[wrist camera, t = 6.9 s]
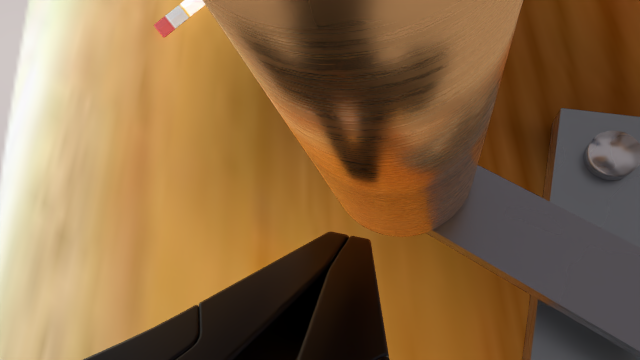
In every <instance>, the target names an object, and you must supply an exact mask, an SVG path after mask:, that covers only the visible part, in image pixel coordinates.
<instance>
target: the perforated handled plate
mask: <svg viewBox="0 0 640 360" xmlns="http://www.w3.org/2000/svg"><path fill="white" fill-rule="evenodd" d="M203 2H204V3H205V4H206V6H207V7H208V9H209V10H210V12H211V13H212V15H213V16H214V18H215V19H216V21H217V22H218V24H219V25H220V27H221V28H222V30H223V31H224V32H225V34H226V35H227V37H228V38H229V40H230V41H231V43H232V44H233V46H234V47H235V49H236V50H237V52H238V53H239V55H240V56H241V57H242V59H243V60H244V62H245V63H246V65H247V66H248V68H249V69H250V71H251V72H252V74H253V75H254V77H255V78H256V80H257V81H258V83H259V84H260V85H261V87H262V88H263V90H264V91H265V93H266V94H267V96H268V97H269V99H270V100H271V102H272V103H273V105H274V106H275V108H276V109H277V110H278V112H279V113H280V115H281V116H282V118H283V119H284V121H285V122H286V124H287V125H288V127H289V128H290V130H291V131H292V133H293V134H294V136H295V137H296V138H297V140H298V141H299V143H300V144H301V146H302V147H303V149H304V150H305V152H306V153H307V155H308V156H309V158H310V159H311V161H312V162H313V164H314V165H315V166H316V168H317V169H318V171H319V172H320V174H321V175H322V177H323V178H324V180H325V181H326V183H327V184H328V186H329V187H330V189H331V190H332V191H333V193H334V194H335V196H336V197H337V199H338V200H339V202H340V203H341V205H342V206H343V208H344V209H345V210H346V211H347V213H348V214H349V215H350V216H351V217H352V218H353V219H354V220H355V221H357V222H358V223H360V224H361V225H362V226H364V227H366V228H368V229H370V230H372V231H375V232H377V233H380V234H384V235H389V236H398V237H403V236H414V235H419V234H423V233H427V234H428V235H430V236H432V237H434V238H435V239H437V240H439V241H440V242H442V243H444V244H445V245H447V246H449V247H451V248H452V249H454V250H456V251H457V252H459V253H461V254H462V255H464V256H466V257H468V258H469V259H471V260H473V261H474V262H476V263H478V264H479V265H481V266H483V267H484V268H486V269H488V270H490V271H491V272H493V273H495V274H496V275H498V276H500V277H501V278H503V279H505V280H507V281H508V282H510V283H512V284H513V285H515V286H517V287H518V288H520V289H522V290H524V291H525V292H527V293H529V294H530V295H532V296H534V297H535V298H537V299H539V300H540V301H542V302H544V303H546V304H547V305H549V306H551V307H552V308H554V309H556V310H557V311H559V312H561V313H563V314H564V315H566V316H568V317H569V318H571V319H573V320H574V321H576V322H578V323H580V324H581V325H583V326H585V327H586V328H588V329H590V330H591V331H593V332H595V333H596V334H598V335H600V336H602V337H603V338H605V339H607V340H608V341H610V342H612V343H613V344H615V345H617V346H619V347H620V348H622V349H624V350H625V351H627V352H629V353H630V354H632V355H634V356H636V357H637V358H639V359H640V247H638V246H636V245H634V244H632V243H630V242H628V241H626V240H624V239H622V238H620V237H618V236H616V235H614V234H612V233H610V232H608V231H606V230H604V229H602V228H600V227H598V226H597V225H595V224H593V223H591V222H589V221H587V220H585V219H583V218H581V217H579V216H577V215H575V214H573V213H571V212H569V211H567V210H565V209H563V208H561V207H559V206H557V205H555V204H553V203H551V202H549V201H547V200H545V199H543V198H542V197H540V196H538V195H536V194H534V193H532V192H530V191H528V190H526V189H524V188H522V187H520V186H518V185H516V184H514V183H512V182H510V181H508V180H506V179H504V178H502V177H500V176H498V175H496V174H494V173H492V172H490V171H488V170H487V169H485V168H483V167H481V166H479V165H478V162H479V158H480V155H481V151H482V147H483V144H484V140H485V137H486V133H487V129H488V126H489V122H490V118H491V115H492V111H493V108H494V104H495V100H496V97H497V93H498V90H499V86H500V82H501V79H502V75H503V72H504V68H505V64H506V61H507V57H508V53H509V50H510V46H511V43H512V39H513V35H514V32H515V28H516V25H517V21H518V17H519V14H520V10H521V6H522V3H523V0H203Z"/></svg>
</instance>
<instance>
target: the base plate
mask: <svg viewBox="0 0 640 360" xmlns="http://www.w3.org/2000/svg"><path fill="white" fill-rule="evenodd" d="M543 199H545V200H547V201H549V202H551V203H553V204H555V205H557V206H559V207H561V208H563V209H565V210H567V211H569V212H571V213H573V214H575V215H577V216H579V217H581V218H583V219H585V220H587V221H589V222H591V223H593V224H595V225H597V226H598V227H600V228H602V229H604V230H606V231H608V232H610V233H612V234H614V235H616V236H618V237H620V238H622V239H624V240H626V241H628V242H630V243H632V244H634V245H636V246H638V247H640V117H636V116H627V115H618V114H609V113H601V112H592V111H583V110H574V109H565V108H561V109H560V111H559V113H558V114H557V116H556V118H555V119H554V121H553V123H552V128H551V136H550V144H549V152H548V160H547V168H546V176H545V184H544V192H543ZM523 360H640V359H639V358H637V357H636V356H634V355H632V354H630V353H629V352H627V351H625V350H624V349H622V348H620V347H619V346H617V345H615V344H613V343H612V342H610V341H608V340H607V339H605V338H603V337H602V336H600V335H598V334H596V333H595V332H593V331H591V330H590V329H588V328H586V327H585V326H583V325H581V324H580V323H578V322H576V321H574V320H573V319H571V318H569V317H568V316H566V315H564V314H563V313H561V312H559V311H557V310H556V309H554V308H552V307H551V306H549V305H547V304H546V303H544V302H542V301H540V300H539V299H537V298H535V297H534V296H532V295H531V296H530V304H529V312H528V320H527V328H526V336H525V344H524V352H523Z"/></svg>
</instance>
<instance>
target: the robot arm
mask: <svg viewBox="0 0 640 360" xmlns="http://www.w3.org/2000/svg"><path fill="white" fill-rule="evenodd" d="M388 357H389V354H388V348H387V342H386V336H385V329H384V323H383V317H382V310H381V304H380V298H379V291H378V285H377V279H376V272H375V266H374V260H373V253H372V247H371V242H370V240H369V239H365V238H360V237H355V236H351V237H349V236H348V235H345V234H340V233H335V232H328V233H326V234H324V235H322V236H320V237H318V238H317V239H315V240H313V241H311V242H309V243H307V244H306V245H304V246H302V247H300V248H298V249H297V250H295V251H293V252H291V253H289V254H287V255H286V256H284V257H282V258H280V259H278V260H277V261H275V262H273V263H271V264H269V265H268V266H266V267H264V268H262V269H260V270H258V271H257V272H255V273H253V274H251V275H249V276H248V277H246V278H244V279H242V280H240V281H238V282H237V283H235V284H233V285H231V286H229V287H228V288H226V289H224V290H222V291H220V292H219V293H217V294H215V295H213V296H211V297H209V298H208V299H206V300H204V301H202V302H200V303H199V307H198V305H195V306H193V307H191V308H189V309H187V310H186V311H184V312H182V313H180V314H178V315H176V316H174V317H173V318H171V319H169V320H167V321H165V322H163V323H161V324H159V325H157V326H155V327H153V328H151V329H149V330H147V331H145V332H143V333H141V334H139V335H136V336H134V337H132V338H130V339H128V340H126V341H124V342H121V343H119V344H117V345H115V346H112V347H110V348H108V349H106V350H104V351H101V352H99V353H97V354H95V355H92V356H90V357H88V358H86V359H83V360H389V358H388Z"/></svg>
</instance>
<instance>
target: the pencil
mask: <svg viewBox="0 0 640 360" xmlns="http://www.w3.org/2000/svg"><path fill="white" fill-rule="evenodd" d="M205 5H206V4H205V3H204V2H203V0H185V1H183V2H182V3H181V4H180V5H178V6H177V7H176V8H175V9H173V10H172V11H171V12H169V13H168V14H167V15H166V16H164V17H163V18H162V19H161V20H159V21H158V22H157V23H156V24H154V26H155V28H156V29H157V30H158V31H159V33H160V34H161V35H162V36H163V37H166V36H167V35H168V34H169V33H171V32H172V31H173V30H174V29H176V28H177V27H178V26H179V25H181V24H182V23H183V22H185V21H186V20H187V19H188V18H190V17H191V16H192V15H193V14H195V13H196V12H197V11H198V10H200V9H201V8H202V7H203V6H205Z"/></svg>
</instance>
